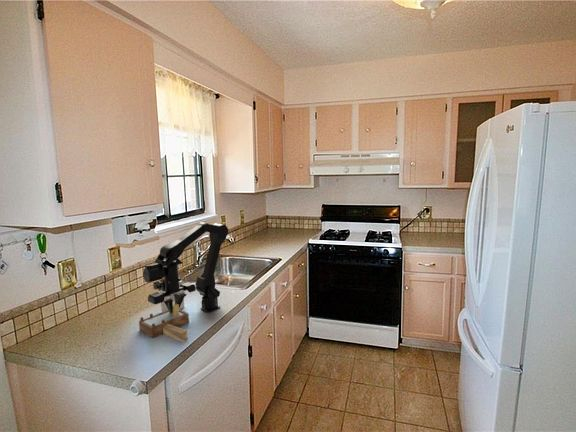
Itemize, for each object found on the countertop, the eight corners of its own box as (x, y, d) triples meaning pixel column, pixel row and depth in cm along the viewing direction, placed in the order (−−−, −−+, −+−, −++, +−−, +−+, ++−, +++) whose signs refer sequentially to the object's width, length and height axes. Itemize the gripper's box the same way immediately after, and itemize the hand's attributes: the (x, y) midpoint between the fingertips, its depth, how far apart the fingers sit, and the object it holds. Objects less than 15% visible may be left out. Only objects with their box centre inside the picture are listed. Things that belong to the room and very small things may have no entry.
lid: (174, 311, 141) (173, 300, 141) (184, 315, 137) (183, 304, 136) (143, 323, 131) (142, 311, 130) (153, 328, 126) (152, 316, 126)
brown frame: (175, 316, 143) (174, 304, 143) (189, 322, 137) (188, 310, 136) (139, 330, 131) (138, 318, 131) (152, 338, 125) (151, 325, 124)
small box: (174, 305, 155) (172, 278, 153) (184, 307, 153) (182, 280, 151) (161, 312, 148) (158, 284, 146) (172, 314, 145) (169, 286, 143)
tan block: (168, 332, 130) (168, 323, 129) (187, 339, 124) (187, 330, 123) (163, 335, 128) (162, 326, 127) (182, 342, 122) (182, 333, 121)
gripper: (180, 267, 147) (182, 300, 149) (139, 278, 133) (142, 315, 135) (195, 271, 140) (197, 306, 142) (153, 284, 126) (156, 322, 128)
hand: (174, 312), depth 137 cm, fingers closed on lid, 2 cm apart
